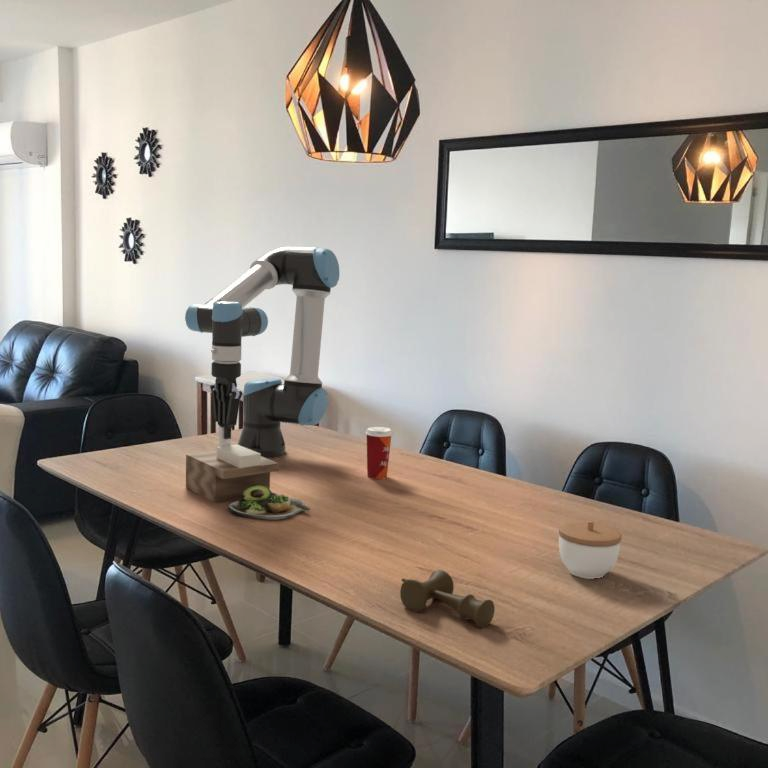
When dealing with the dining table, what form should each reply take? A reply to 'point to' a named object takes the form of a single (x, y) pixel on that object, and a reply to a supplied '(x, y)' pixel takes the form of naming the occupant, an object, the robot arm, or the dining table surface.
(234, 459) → the tile
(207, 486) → the block
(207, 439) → the dining table surface
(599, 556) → the lidded bowl
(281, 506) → the salad plate
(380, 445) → the paper cup
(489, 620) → the kendama
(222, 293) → the robot arm
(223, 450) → the tile
